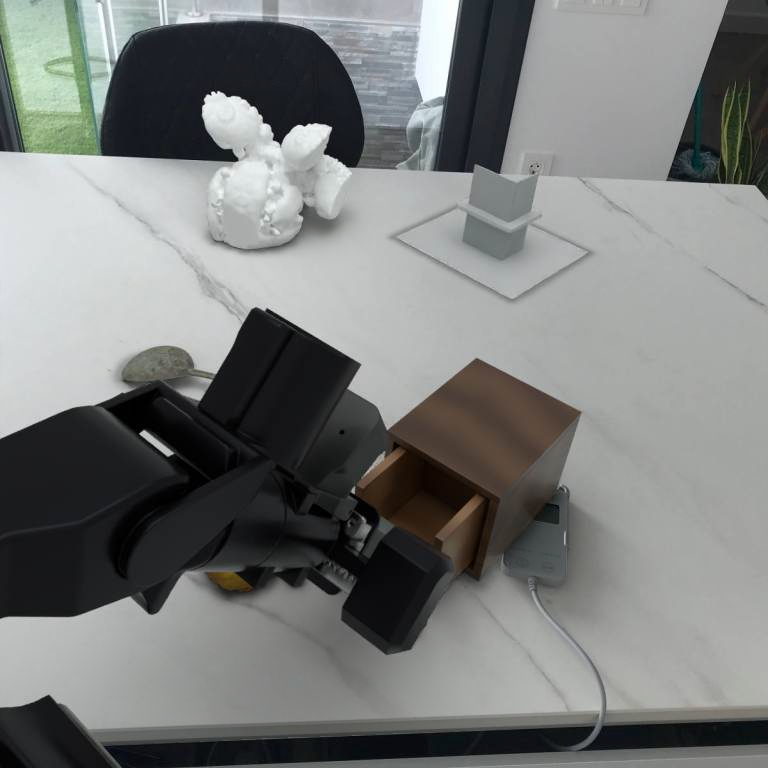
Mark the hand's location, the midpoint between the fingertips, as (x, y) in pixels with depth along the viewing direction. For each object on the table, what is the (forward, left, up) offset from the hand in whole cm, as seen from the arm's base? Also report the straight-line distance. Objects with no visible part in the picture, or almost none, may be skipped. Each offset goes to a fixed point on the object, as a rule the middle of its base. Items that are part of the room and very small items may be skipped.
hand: (360, 530), depth 55 cm
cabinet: (+14, -9, -11) cm, 20 cm away
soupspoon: (+25, +18, -12) cm, 33 cm away
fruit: (+5, +8, -12) cm, 15 cm away
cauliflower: (+63, +20, -12) cm, 67 cm away
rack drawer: (+5, -3, -10) cm, 12 cm away
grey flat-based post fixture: (+64, -11, -12) cm, 66 cm away
